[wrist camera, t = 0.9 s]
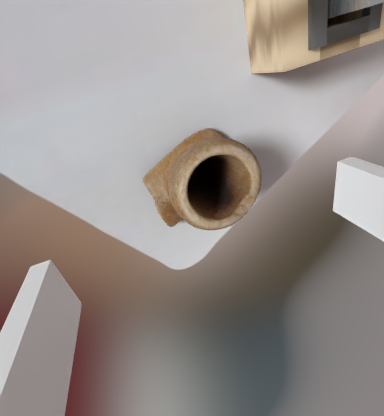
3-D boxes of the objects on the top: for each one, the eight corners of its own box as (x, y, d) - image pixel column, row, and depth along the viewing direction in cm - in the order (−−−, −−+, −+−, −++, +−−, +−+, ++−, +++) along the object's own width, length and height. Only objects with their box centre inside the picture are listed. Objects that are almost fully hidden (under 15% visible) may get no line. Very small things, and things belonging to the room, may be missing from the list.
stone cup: (202, 104, 34) (253, 118, 21) (240, 167, 40) (297, 207, 28) (120, 170, 35) (121, 221, 23) (169, 221, 41) (192, 284, 29)
